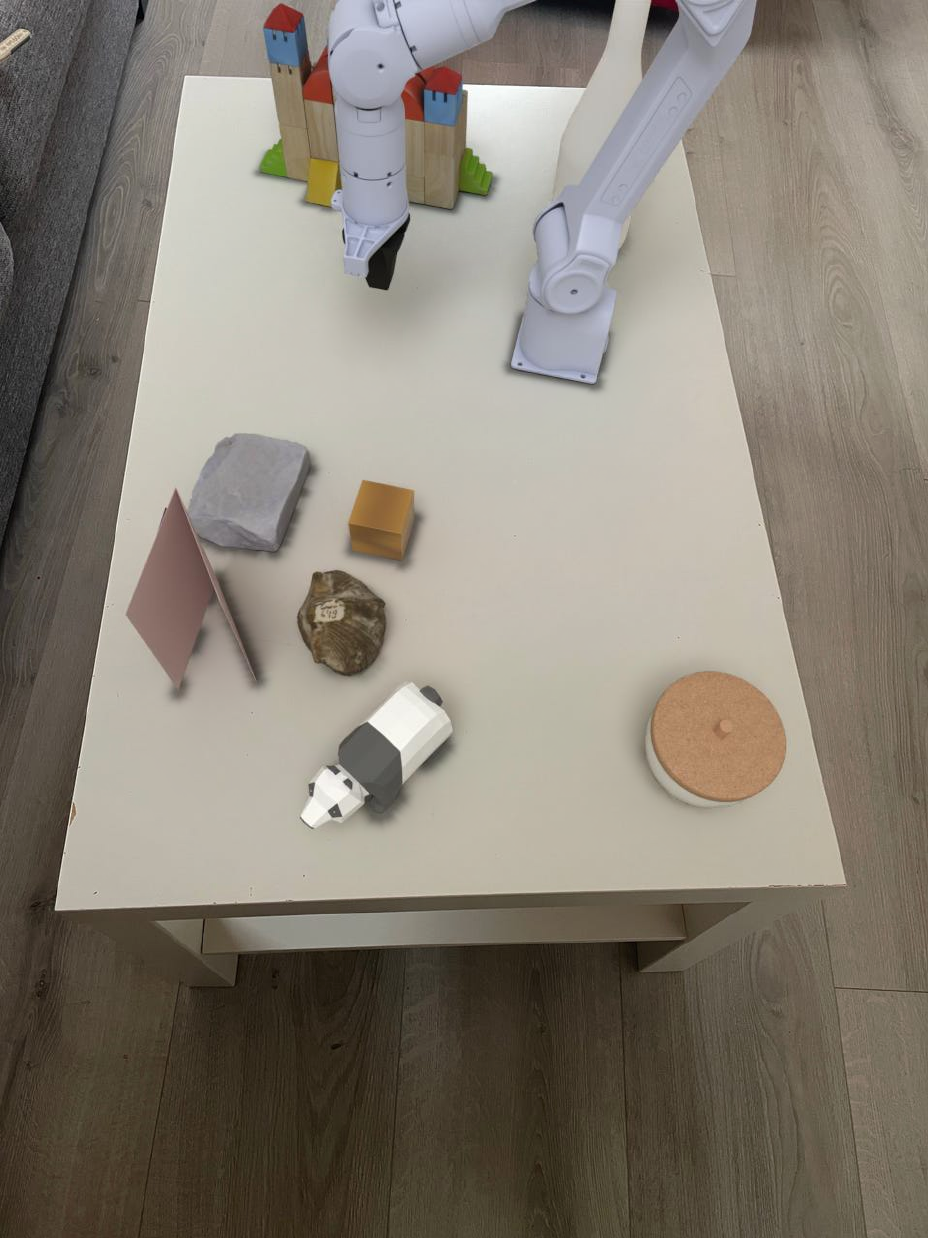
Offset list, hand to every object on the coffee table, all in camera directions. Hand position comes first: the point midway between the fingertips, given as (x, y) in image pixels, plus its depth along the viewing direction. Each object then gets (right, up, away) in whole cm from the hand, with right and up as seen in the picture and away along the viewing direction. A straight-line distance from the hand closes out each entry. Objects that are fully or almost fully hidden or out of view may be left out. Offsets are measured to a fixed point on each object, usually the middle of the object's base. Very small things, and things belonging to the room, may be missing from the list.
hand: (379, 284), depth 86 cm
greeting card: (-13, -35, -7) cm, 39 cm away
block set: (-3, +22, +21) cm, 31 cm away
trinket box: (+28, -46, -11) cm, 55 cm away
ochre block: (+1, -25, -2) cm, 25 cm away
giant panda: (+1, -47, -12) cm, 48 cm away
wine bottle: (+23, +13, +18) cm, 32 cm away
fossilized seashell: (-3, -35, -7) cm, 36 cm away
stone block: (-13, -22, -1) cm, 25 cm away
